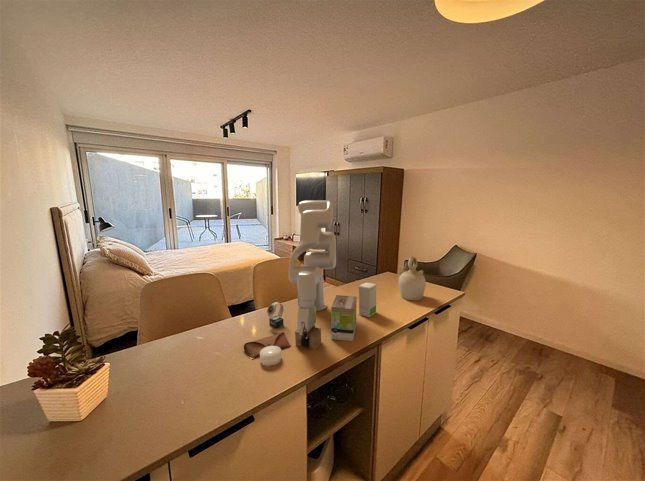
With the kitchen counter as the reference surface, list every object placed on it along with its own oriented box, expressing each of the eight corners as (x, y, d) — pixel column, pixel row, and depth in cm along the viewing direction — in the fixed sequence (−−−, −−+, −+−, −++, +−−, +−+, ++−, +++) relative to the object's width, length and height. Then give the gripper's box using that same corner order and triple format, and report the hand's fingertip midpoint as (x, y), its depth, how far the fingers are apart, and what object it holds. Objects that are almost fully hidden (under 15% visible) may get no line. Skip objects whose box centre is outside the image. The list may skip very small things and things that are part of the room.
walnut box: (295, 345, 108) (294, 331, 107) (301, 338, 113) (301, 324, 112) (316, 349, 105) (315, 335, 104) (321, 341, 110) (321, 328, 109)
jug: (392, 295, 161) (394, 255, 157) (412, 291, 168) (413, 253, 164) (410, 304, 148) (412, 261, 144) (430, 299, 154) (433, 257, 150)
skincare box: (369, 318, 131) (369, 288, 129) (357, 314, 135) (357, 285, 133) (376, 312, 138) (377, 283, 136) (365, 309, 142) (365, 281, 139)
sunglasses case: (249, 360, 98) (246, 342, 100) (245, 361, 104) (242, 344, 106) (293, 346, 108) (289, 329, 109) (287, 347, 113) (283, 331, 115)
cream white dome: (255, 364, 96) (255, 355, 96) (267, 352, 104) (266, 344, 103) (275, 368, 94) (274, 359, 93) (285, 355, 101) (284, 347, 101)
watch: (266, 325, 125) (264, 304, 123) (279, 320, 131) (278, 299, 129) (272, 329, 121) (271, 307, 120) (286, 323, 127) (285, 302, 125)
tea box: (354, 341, 110) (354, 308, 108) (330, 339, 112) (330, 307, 110) (356, 324, 125) (356, 295, 122) (335, 323, 127) (335, 294, 124)
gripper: (306, 293, 115) (307, 331, 118) (289, 308, 99) (291, 352, 102) (322, 294, 113) (323, 333, 116) (307, 311, 97) (309, 355, 100)
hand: (308, 341), depth 109 cm, fingers closed on walnut box, 6 cm apart
